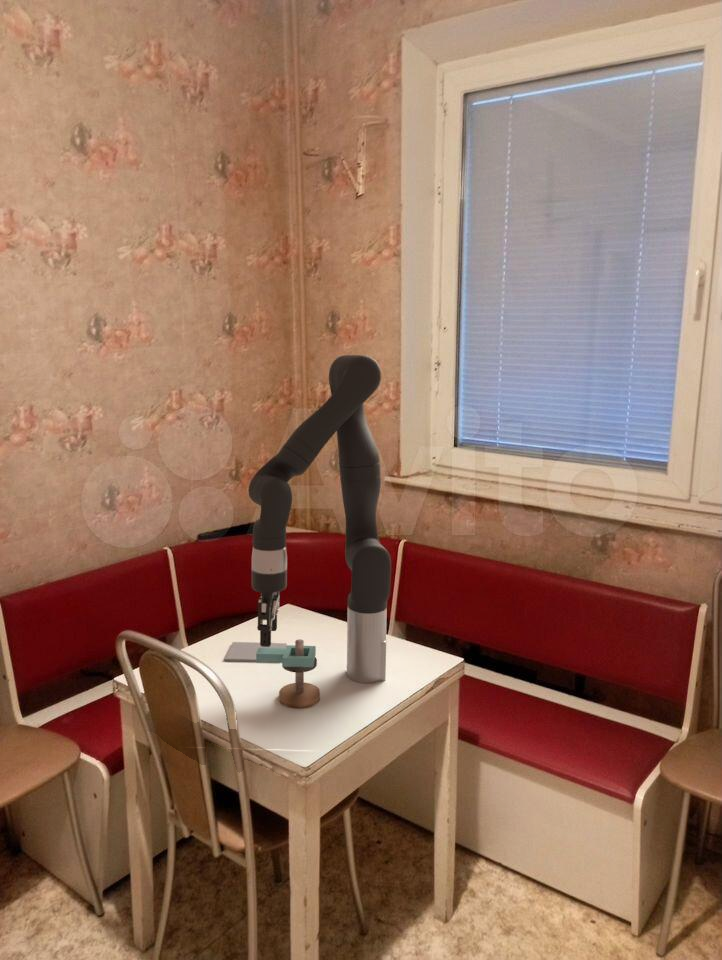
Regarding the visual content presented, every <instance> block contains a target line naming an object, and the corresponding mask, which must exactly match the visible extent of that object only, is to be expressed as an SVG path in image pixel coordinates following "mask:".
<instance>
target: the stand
mask: <svg viewBox="0 0 722 960" xmlns="http://www.w3.org/2000/svg"><path fill="white" fill-rule="evenodd" d="M294 644H295V656H304V646H305V642H304V640H303V639H296V640H295V643H294ZM317 661H318V659H317V657H316V656H315V660H314V665H313V667H283V663H281V665H282V666H281V667H282V668H283V670H285V671H288V672H290V673H295V674H294V675H295V676H294V677H295V678H294V679H295V680H294V681H295V682H293V683H292V682H291V683H288V684H286V685H284V686H282V687H281V688H280V690H279V692H278V701H279V703H280V704H281V705H283V706H285V707H287V708H290V709H297V710H298V709H306V708H311V707H313V706H315V705H317V704H319V702H320V699H321V691H320V689H319V687H318V686H316V685H315V684H314V683H313V684H312V683H309V682H304V679H305V678H304V676H305V675H304V674H305V673H306V672H309V671H313V670H314V669H315V668H317V666H318V662H317Z"/></svg>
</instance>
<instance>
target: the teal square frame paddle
mask: <svg viewBox="0 0 722 960" xmlns="http://www.w3.org/2000/svg"><path fill="white" fill-rule="evenodd" d="M316 647H317V646H316V645H304V656H295V645H291V644H290V645H289V644H287V646H286V649H282V648H258V651H257V653H256V662H255V663H261V664H262V663H263V664H264V663H267V664H268V663H270V664H274V663H275V664H282V663H283V667H313V665H314V660H315V657H316V655H317V654H316V653H317V652H316V650H317V649H316ZM283 667H282V668H283Z"/></svg>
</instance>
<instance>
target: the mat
mask: <svg viewBox="0 0 722 960" xmlns="http://www.w3.org/2000/svg"><path fill="white" fill-rule="evenodd" d="M287 645H288V644H287V643H286V642H271V645H270V647H262V646H261V645H260V642H250V641H249V642H247V641H246V642H245V641H232V643H231V645H230V647H229V649H228V652H227V653H226V655H225V658H224V662H246V663H247V662H248V663H257V662H256V653H257V651H258V648H282V649H286V646H287Z"/></svg>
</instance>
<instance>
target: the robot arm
mask: <svg viewBox="0 0 722 960" xmlns="http://www.w3.org/2000/svg"><path fill="white" fill-rule="evenodd" d="M381 379H382V370H381V366H380V364H379V363H378V362H377V360H375V359H374V358H373V357H371V356H368V355H364V354H363V355H362V354H345V355H340V356H338V357H336V358H335V359H334V360H333V362H332V363H331V365H330V368H329V372H328V385H329V390H330V396H329V398H328V399H327V400H326V401H325V402H324V403H323V404H322V405H321V406H320V407H319V408H318V409H317V410H316V411H314V413H312V414H311V415H310V416H309V417H308V418H306V419H305V420H304V421H302V423H301V424H300V425H299V426H297V428H296V429H294V431H293V432H292V434H291V435H290V436H289V438H288V439H287V440H286V442H285V443H284V444H283V446H282V447H281V448H280V450H279V451H278V453H276V454H275V456H273V457H272V458H271V459H269V460H268V461H267V462H266V463H265V464H264V465H263V466H262V467H261V468H260V469H258V471H256V473H255V474H254V475H253V477H252V478H251V480H250V483H249V485H248V495H249V498H250V500H251V501H252V502H253V503H255V504H257V505H259V506H260V513H259V519H257V520H255V521H254V523H253V527H252V551H251V552H252V553H251V588H252V590H253V591H255V592H259V593H260V597H259V598H258V601H257V602H258V604H257V628H256V629H257V631H258V632H259V633H260V634H259V635H260V636H259V643H260V645H261V646H262V647H270V645H271V643H272V632H276V631H277V630H278V613H279V608H280V606H281V605H280V592H282V591H284V590H285V589H286V588H287V586H288V554H287V553H288V552H287V525H288V522H289V518H290V514H291V510H292V509H291V508H292V504H293V494H292V488H291V486H290V484H289V482H290V480H291V479H293V478H294V477H297V476H301V475H303V474H304V473H305V472H306V471H307V470H308V469H309V467H310V466H311V464H312V463H313V462H314V460H315V459H316V458H317V456H318V455H319V454H320V452H321V451H322V450H323V448H324V447H325V446H326V444H328V442H329V441H330V440H331V439H332V437H333V436H334V435H335V433H336V438H337V439H336V441H337V451H338V466H339V469H338V470H339V478H340V488H341V494H342V503H343V510H344V515H345V518H344V519H345V542H344V543H345V544H344V545H345V547H344V548H345V549H344V555H345V556H344V557H345V562H346V565H347V566H348V569H350V571H351V587H350V588H351V589H350V592H349V594H348V595H347V614H346V615H347V616H346V617H347V618H346V619H347V622H346V623H347V626H346V627H347V630H346V636H347V637H346V676H347V678H348V679H349V680H350V681H353V682H355V683H359V684H360V683H361V684H373V683H377V682H383V681H386V674H387V673H386V671H387V670H386V669H387V668H386V667H387V620H388V619H387V615H388V614H387V613H388V611H387V610H388V599H389V597H390V593H391V582H392V581H391V580H392V560H391V559H392V558H391V554H390V553H389V551H388V550H387V548H385V547H384V546H383V544H381V542H380V538H379V532H378V526H377V507H378V501H379V497H380V493H381V483H382V478H381V475H382V474H381V460H380V455H379V454H380V453H379V450H378V446H377V444H376V440H375V439H374V437H373V435H372V432H371V429H370V428H369V425H368V422H367V418H366V415H365V414H366V413H365V404H364V403H365V402H366V401H367V400H368V399H369V398H370V397H371V396H372V395H373V394H374V393H375V392H376V391H377V390H378V388H379V386H380V383H381V381H382V380H381ZM264 621H266V624H264Z"/></svg>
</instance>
